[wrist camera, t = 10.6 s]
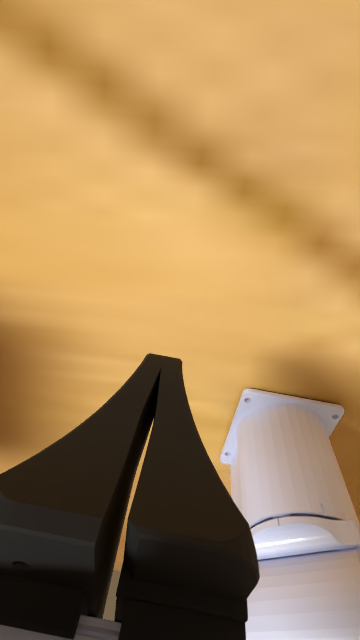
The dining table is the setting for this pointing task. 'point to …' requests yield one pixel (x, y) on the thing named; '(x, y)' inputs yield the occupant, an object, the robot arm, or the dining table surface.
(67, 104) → the dining table surface
